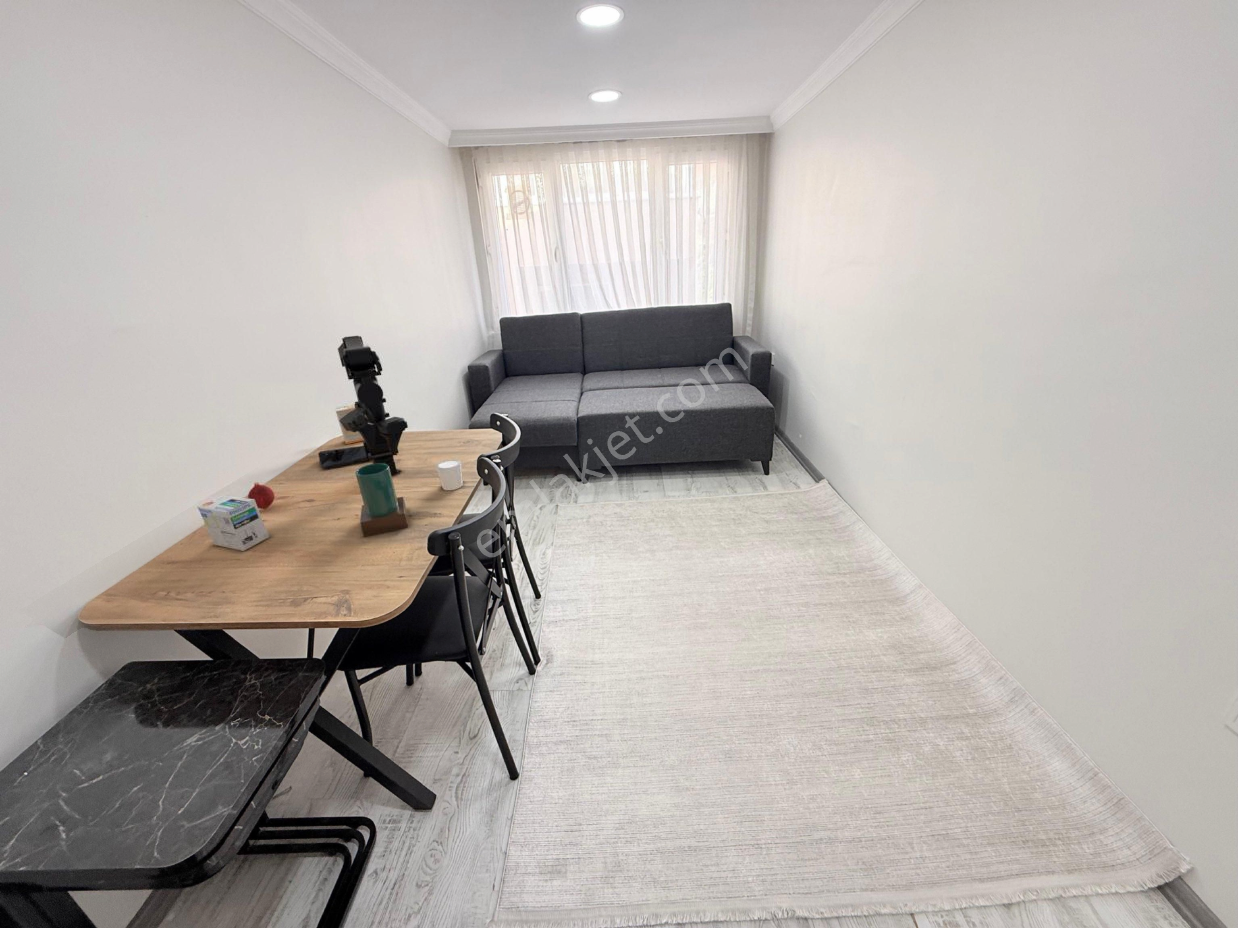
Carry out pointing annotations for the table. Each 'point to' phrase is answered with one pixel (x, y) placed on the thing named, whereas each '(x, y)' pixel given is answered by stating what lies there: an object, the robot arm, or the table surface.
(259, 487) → the pomegranate
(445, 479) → the white cylinder
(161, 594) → the table surface
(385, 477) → the cup
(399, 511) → the block
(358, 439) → the supplement box
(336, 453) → the dark slate chunk
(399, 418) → the robot arm
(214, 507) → the light bulb box
